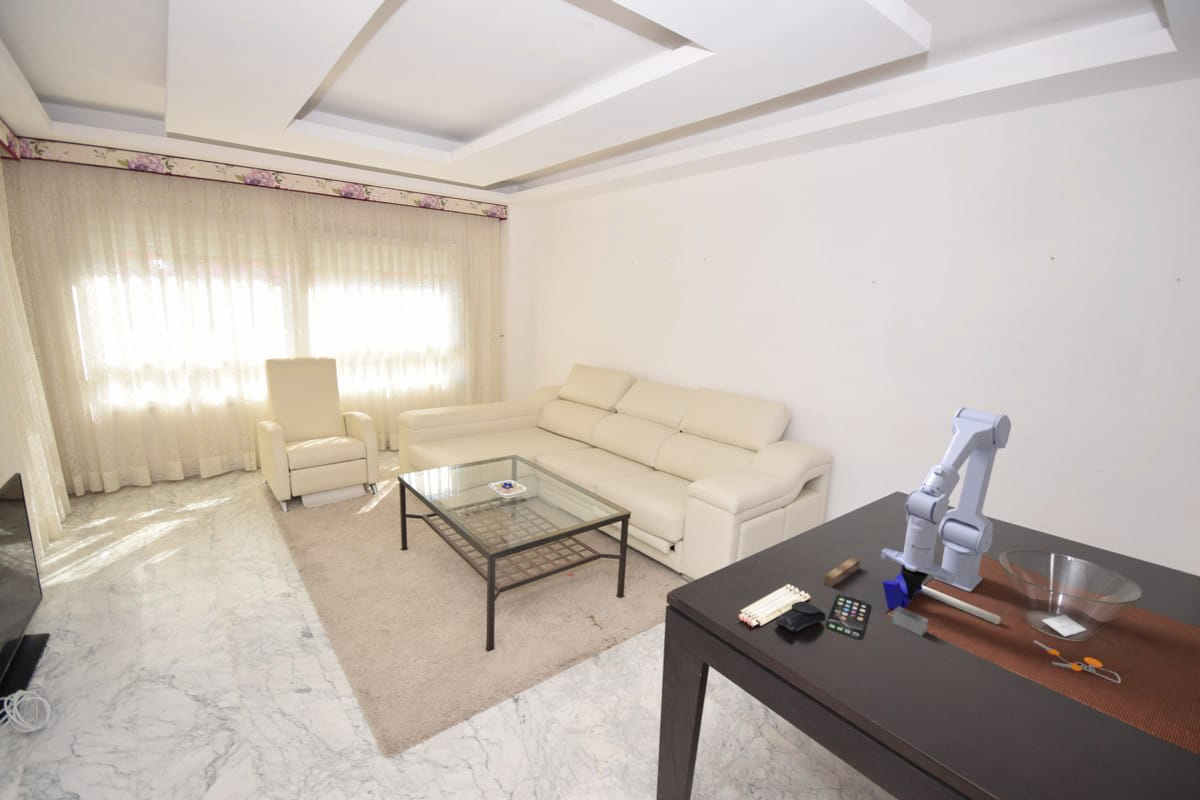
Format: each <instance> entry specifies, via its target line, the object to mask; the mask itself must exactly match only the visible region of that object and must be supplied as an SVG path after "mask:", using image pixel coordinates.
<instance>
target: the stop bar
mask: <svg viewBox="0 0 1200 800" xmlns="http://www.w3.org/2000/svg"><path fill="white" fill-rule="evenodd" d="M860 563H861V560H860V559H858V558H856V557H852V556H851V557H849V559H847V560H845V561H844V562H843V563H841V564H840V565H838V566H836V567H835V568H833V569H831V570H830V571H829V572H827V573H826V574H825V575H824V582H823V584H825V585H826V586H828V587H830V588H833V587H835V586H836V585H837V584H839V583H840V582H842V581H843V580H844V579H846V578H847V577H849V576H850V575H852V574H853V573H855V572H856V571H857V570H859V567H860Z"/></svg>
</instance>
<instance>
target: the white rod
mask: <svg viewBox="0 0 1200 800" xmlns="http://www.w3.org/2000/svg"><path fill="white" fill-rule="evenodd" d="M919 594H923V595H925V596H926V597H927V596H928V597H930V598H933V599H935V600H938V601H940V602H942V603H945V604H947V605H949V606H952V607H954V608H957V609H960V610H961V611H964V612H966V613H970V614H971V615H972V616H973V615H974V616H976V617H978V618H980V619H983V620H985V621H989V623H990V622H991V623H993V624H995V625H998V626H999V625H1000V623H1001V620H1002V616H999V615H997V614H994V613H992V612H989V611H987V610H985V609H982V608H980V607H977V606H975V605H973V604H969V603H967V602H964V600H963V601H962V600H960V599H957V598H954V597H952V596H950V595H947V594H945V593H942V592H940V591H938V590H935V589H932V588H930V587H927V586H925V585H923V584H922V589H921V590H920V591H919Z"/></svg>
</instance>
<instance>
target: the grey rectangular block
mask: <svg viewBox="0 0 1200 800" xmlns="http://www.w3.org/2000/svg"><path fill="white" fill-rule="evenodd" d="M891 623H892V624H895V625H896V626H899V627H901V628H903V629H905V630H908V631H909V632H912V633H914V634H916V635H918V636H920V637H923V636H924V635H925V634H926V633H927V631H928V630H927V628H928V623H929V619H928V618H927V617H923V616H922V615H919V614H917V613H914V612H912V611H910V610H908V609H906V608H902V607H899V606H898V607H897V608H895V609H893V612H892V618H891Z"/></svg>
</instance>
